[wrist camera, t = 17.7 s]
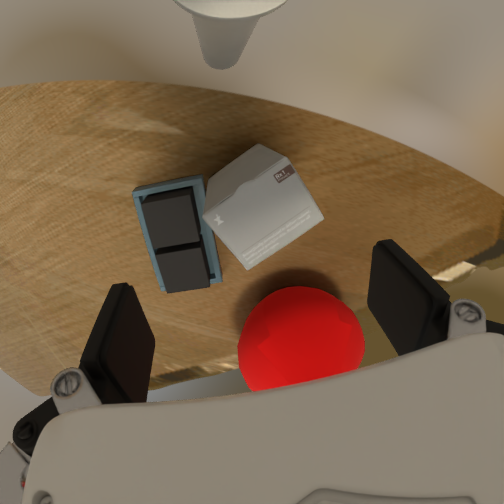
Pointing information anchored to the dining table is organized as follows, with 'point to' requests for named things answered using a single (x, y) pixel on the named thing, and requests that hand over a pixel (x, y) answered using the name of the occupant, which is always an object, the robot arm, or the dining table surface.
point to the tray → (206, 231)
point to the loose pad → (172, 217)
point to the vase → (298, 339)
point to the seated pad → (184, 266)
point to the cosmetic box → (259, 205)
